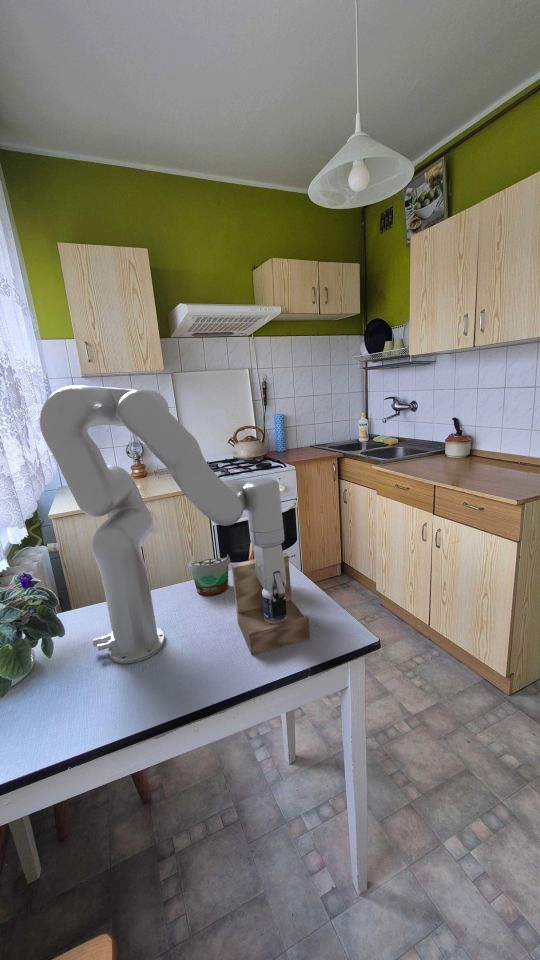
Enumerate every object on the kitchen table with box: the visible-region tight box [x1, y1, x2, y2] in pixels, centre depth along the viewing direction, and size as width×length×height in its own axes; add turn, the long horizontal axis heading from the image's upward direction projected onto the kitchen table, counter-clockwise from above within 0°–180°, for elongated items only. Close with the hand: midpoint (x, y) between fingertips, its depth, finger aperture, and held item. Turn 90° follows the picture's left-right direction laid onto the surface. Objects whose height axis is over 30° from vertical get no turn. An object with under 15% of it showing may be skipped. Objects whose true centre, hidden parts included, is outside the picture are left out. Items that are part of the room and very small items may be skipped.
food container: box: [188, 555, 231, 598], centre depth 111 cm, size 12×6×10 cm, turn 104°
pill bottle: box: [262, 584, 287, 624], centre depth 89 cm, size 5×5×10 cm
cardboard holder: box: [230, 552, 311, 656], centre depth 90 cm, size 14×13×16 cm
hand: (274, 606), depth 89 cm, fingers open, 6 cm apart
